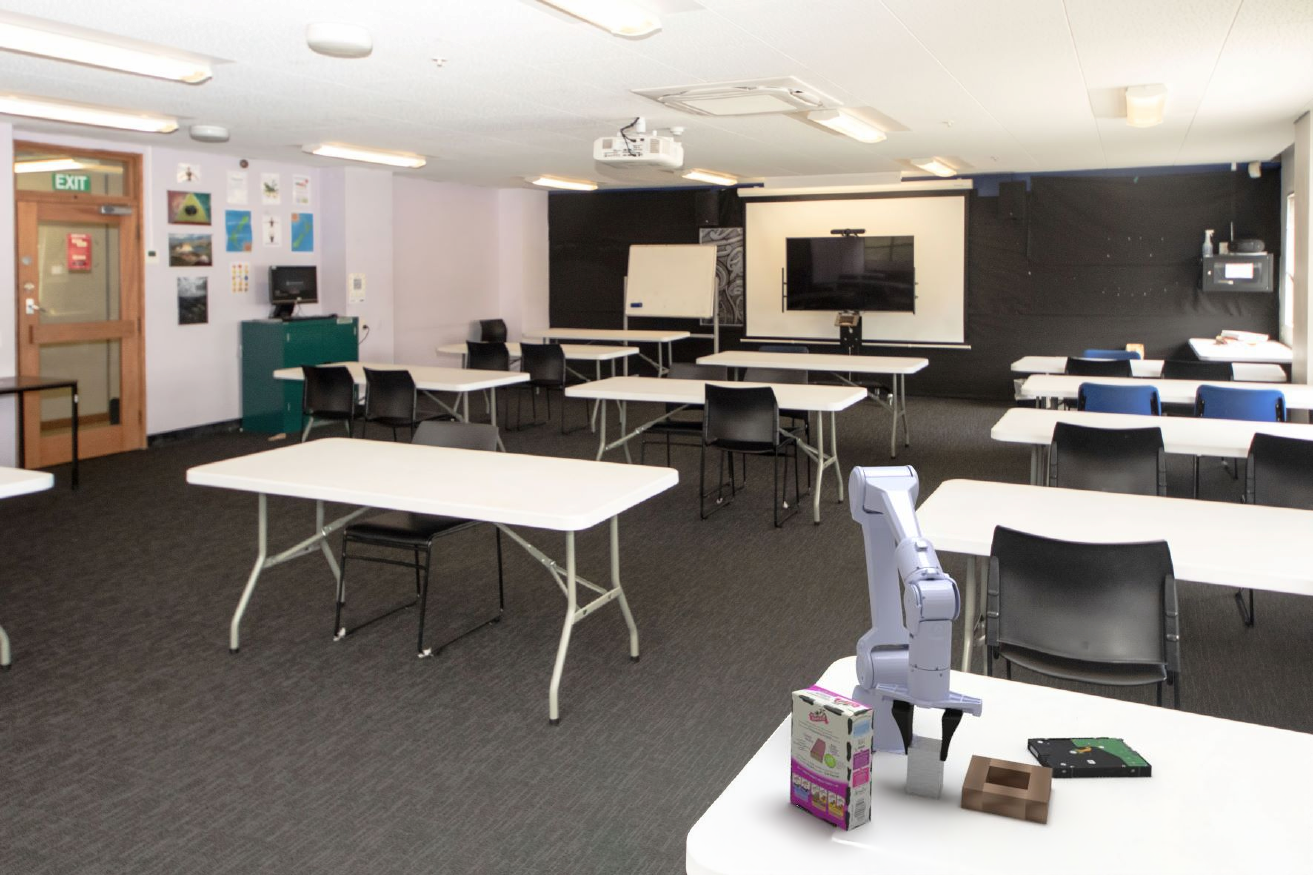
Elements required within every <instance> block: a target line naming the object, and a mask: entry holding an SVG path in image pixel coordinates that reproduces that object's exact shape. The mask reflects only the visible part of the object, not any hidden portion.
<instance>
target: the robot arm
mask: <svg viewBox="0 0 1313 875" xmlns="http://www.w3.org/2000/svg"><path fill="white" fill-rule="evenodd" d="M919 490H920V480H919V477H918V473H917V471H916V470H915V469H914V467H913V466H912V465H910V464H909V465H908V464H907V465H903V466H901V465H900V466H859V465H858V466H854V467H853V469H852V470H851V472H850V474H849V480H848V497H849V508H850V513H851V518H852V520H853V521H855V522H857V523H858V524H860V525H861V528H862V534H863V539H864V551H865V562H866V570H867V571H866V573H867V582H868V593H869V602H870V614H871V616H870V617H871V624H872V626H871V628H870V629H869V630H868V631H867V632H866V633H865V634H863V635H862V636H861V637H860V638H859V640H858V641H857V643H856V646H855V647H856V657H855V658H856V660H855V672H856V679H857V680H858V681H857V682H858V684H856V685H855V686H854V688H853V691H852V695H851V699H852V700H854V701H857V702H859V703H862V704H864V705H867V706H869V707H872V708H874V719H873V752H877V751H879V752H885V753H889V754H896V755H902V756H907V757H908V746H909V744H910V742H911V740H912V738H913V735H915V736H919V734H916V733H914V729H913V728H914V727H913V726H914V725H913V724H914V715H915V714H914V713H915V706H916V707H917V708H920V709H928V710H931V709H938V710H944V711H943V714H942V716H941V740H942V745H941V761H944V762H946V761H947V759H948V755H949V748H950V745H951V741H952V738H953V736H954V734H955V732H956V730H957V728H958V727H959V725H960V724H961V720H962V718H963V716H964V714H969V715H970V714H971V715H972V717H977V718H980V717H981V716H982V712H983V699H982V698H979V697H973V696H969V695H966V694H963V693H959V692H955V691H952V690H950V686H951V684H950V683H951V660H952V658H951V657H952V656H951V655H952V637H953V636H952V634H953V632H952V631H953V630H952V629H953V622H952V621H956V620H957V619H958V617H959V615H960V612H961V596H960V591H959V588H958V585H957V582H956V580H955V579H953V578H952V577H950V574H949V573H945V572H944V571H943V569H942V566H941V564H940V560H939V558H938V556H937V553H936V550H935V548H934V545H933V543H932V542H931V541H930V540H929V539H927V538H925V537H923V536H922V534H921V529H920V526H919V521H918V517H917V513H916V510H915V507H916V503H917V499H918V497H919V493H920V491H919ZM896 544H897V546H896ZM899 574H900V576H901V579H902V583H903V586H904V589H905V590H904V594H903V605H904V606H903V607H904V610H905V617H906V618H905V625H906V627H905V626H904V618H903V608H902V598H901V589H900V580H899ZM892 646H893V647H894V646H899V647H896V648H895V647H894V648H892ZM900 646H901V647H900ZM874 647H891V648H874Z"/></svg>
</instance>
